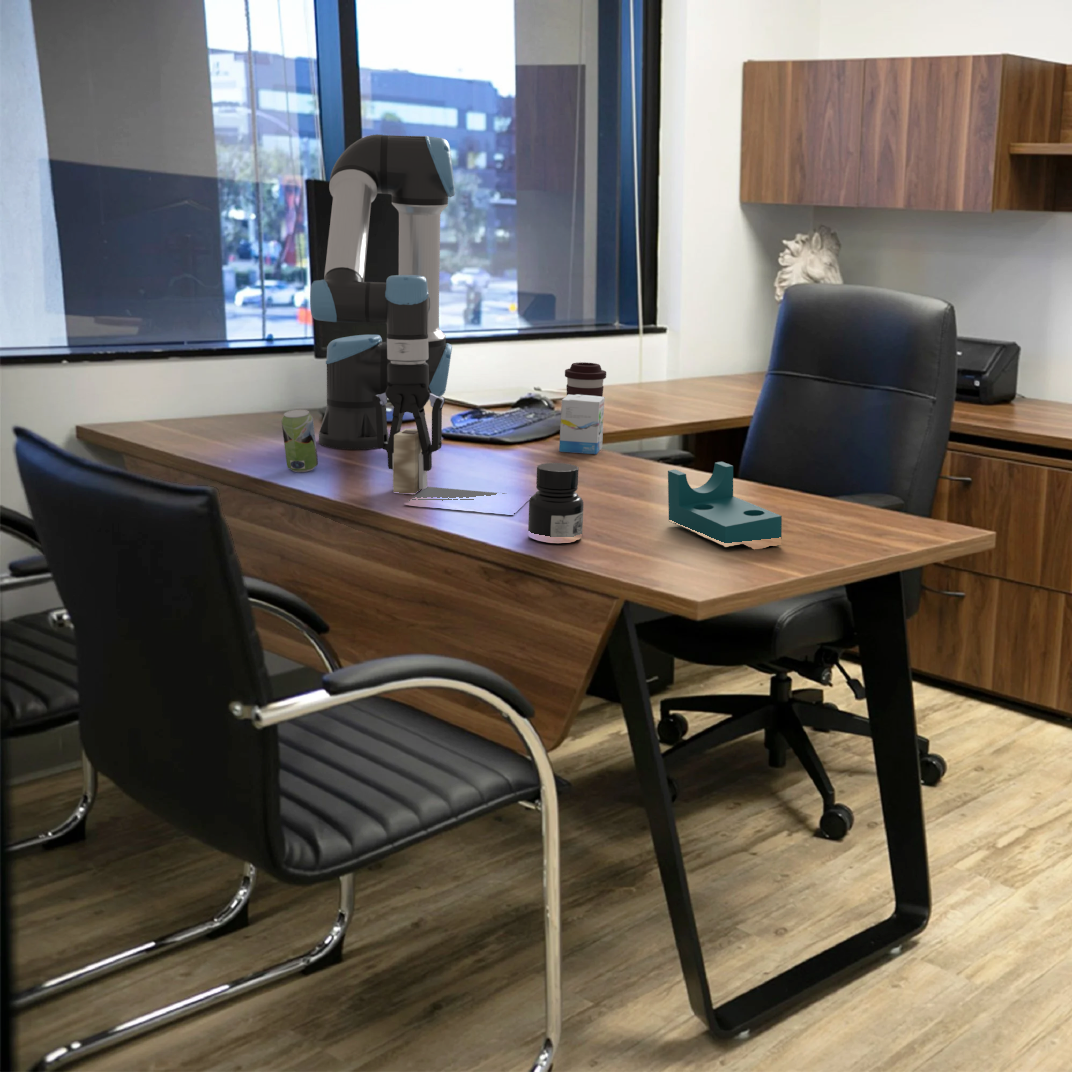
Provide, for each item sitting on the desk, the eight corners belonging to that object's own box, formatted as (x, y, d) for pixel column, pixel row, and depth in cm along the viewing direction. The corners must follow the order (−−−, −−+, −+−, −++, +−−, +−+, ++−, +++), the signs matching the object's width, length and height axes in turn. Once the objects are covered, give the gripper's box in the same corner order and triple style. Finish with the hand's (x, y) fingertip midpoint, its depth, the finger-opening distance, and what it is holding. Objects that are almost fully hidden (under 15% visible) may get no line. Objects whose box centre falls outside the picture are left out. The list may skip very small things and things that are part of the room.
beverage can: (323, 469, 260) (323, 409, 257) (305, 476, 253) (304, 414, 250) (295, 465, 262) (294, 406, 258) (276, 472, 255) (275, 411, 252)
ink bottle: (562, 549, 209) (565, 476, 206) (516, 540, 213) (518, 468, 210) (592, 537, 217) (596, 466, 214) (547, 528, 221) (550, 458, 218)
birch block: (393, 493, 242) (393, 434, 239) (405, 485, 248) (405, 427, 245) (414, 495, 241) (414, 435, 238) (425, 487, 247) (426, 429, 245)
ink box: (596, 455, 283) (599, 401, 280) (558, 452, 285) (560, 399, 282) (602, 447, 291) (605, 395, 288) (565, 444, 293) (567, 393, 290)
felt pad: (404, 506, 233) (404, 503, 233) (427, 489, 246) (427, 486, 246) (513, 515, 229) (513, 513, 228) (531, 498, 242) (531, 495, 242)
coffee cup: (556, 427, 314) (559, 364, 310) (571, 420, 323) (573, 360, 319) (595, 431, 310) (598, 368, 306) (609, 424, 319) (612, 363, 315)
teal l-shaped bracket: (668, 529, 227) (667, 470, 223) (722, 519, 231) (721, 461, 228) (725, 556, 211) (725, 494, 208) (781, 545, 215) (781, 483, 212)
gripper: (355, 362, 237) (359, 488, 242) (448, 365, 233) (449, 493, 239) (369, 357, 244) (372, 480, 250) (459, 360, 240) (460, 485, 246)
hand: (410, 486), depth 244 cm, fingers open, 4 cm apart
